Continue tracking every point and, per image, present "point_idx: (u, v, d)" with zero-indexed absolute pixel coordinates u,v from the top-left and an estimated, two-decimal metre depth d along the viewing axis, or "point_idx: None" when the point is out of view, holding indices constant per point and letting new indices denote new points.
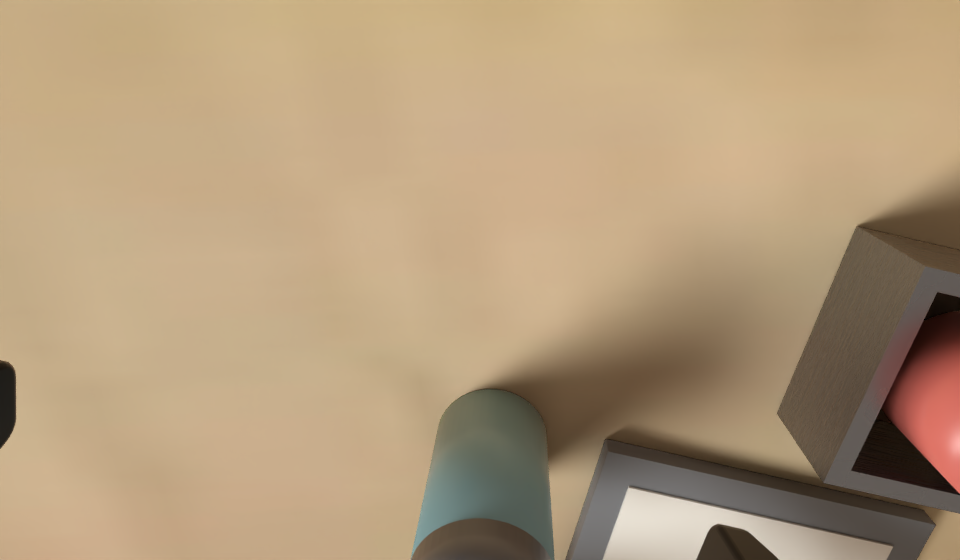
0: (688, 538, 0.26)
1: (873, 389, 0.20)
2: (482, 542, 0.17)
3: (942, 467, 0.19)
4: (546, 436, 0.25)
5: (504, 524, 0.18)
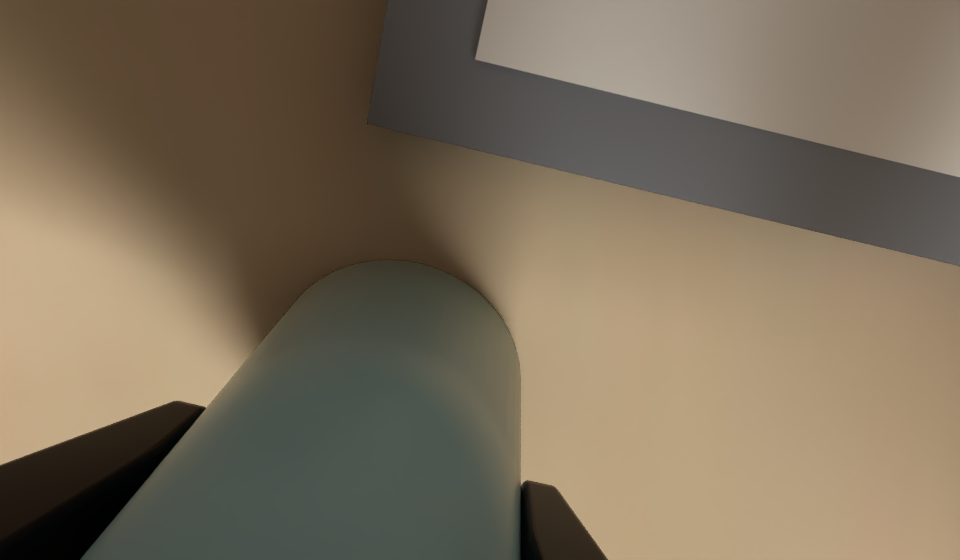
0: None
1: None
2: None
3: None
4: (371, 265, 0.10)
5: None
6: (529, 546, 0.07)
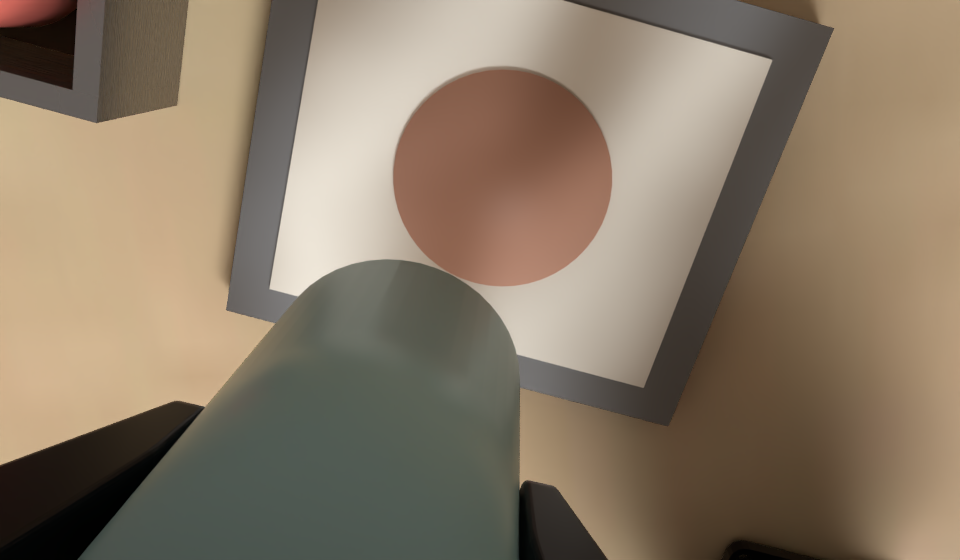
0: (340, 215, 0.20)
1: None
2: None
3: None
4: (370, 265, 0.10)
5: None
6: (529, 546, 0.07)
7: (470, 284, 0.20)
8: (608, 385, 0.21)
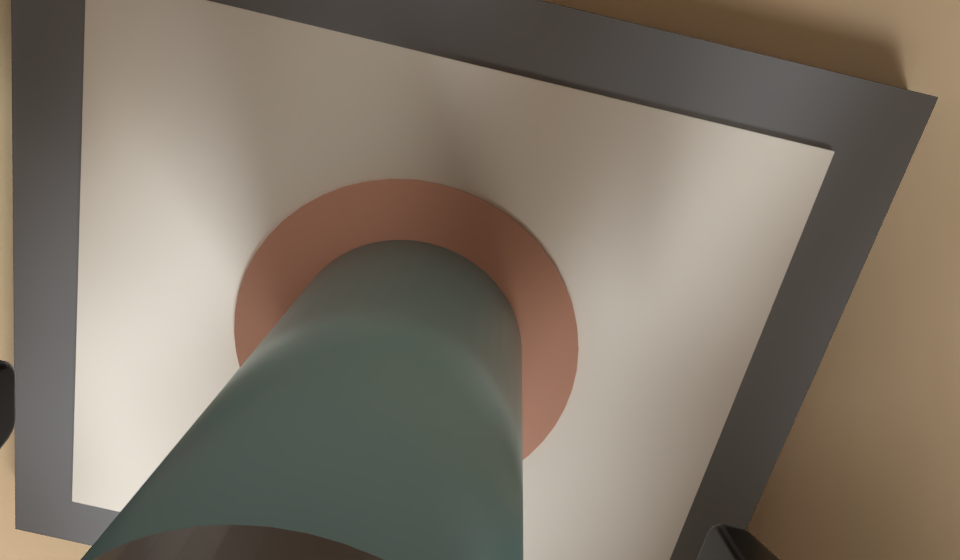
0: (164, 397, 0.13)
1: None
2: None
3: None
4: (384, 244, 0.11)
5: None
6: None
7: None
8: None
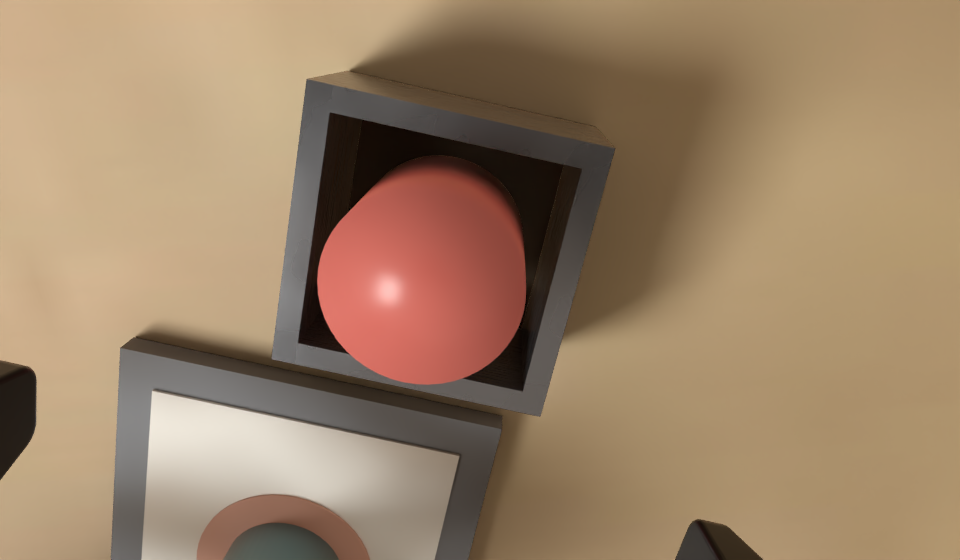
0: (235, 451, 0.22)
1: (293, 239, 0.17)
2: None
3: None
4: None
5: None
6: None
7: (194, 548, 0.24)
8: None
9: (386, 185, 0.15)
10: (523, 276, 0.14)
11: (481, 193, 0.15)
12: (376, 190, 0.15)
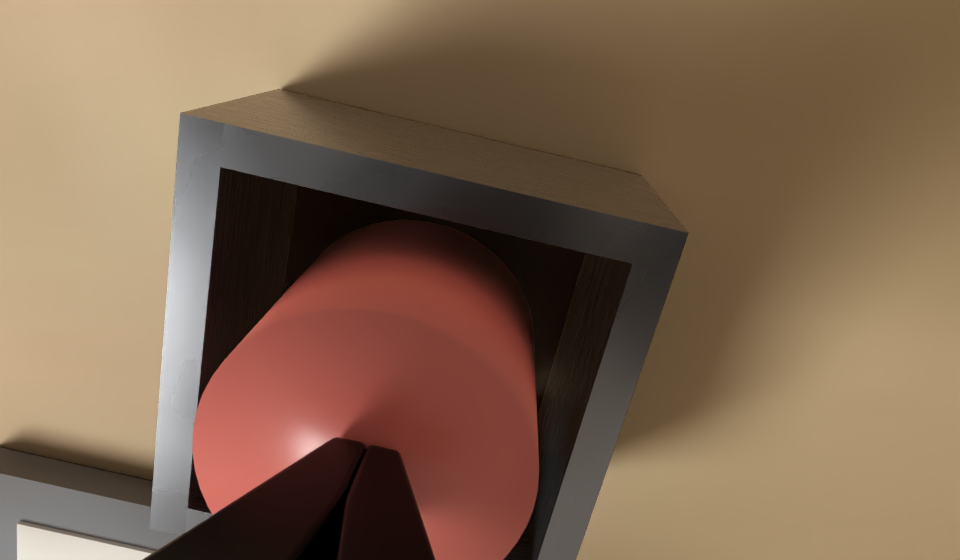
0: None
1: (172, 360, 0.11)
2: None
3: None
4: None
5: None
6: (343, 504, 0.07)
7: None
8: None
9: (309, 292, 0.09)
10: (534, 454, 0.09)
11: (467, 303, 0.09)
12: (293, 300, 0.09)
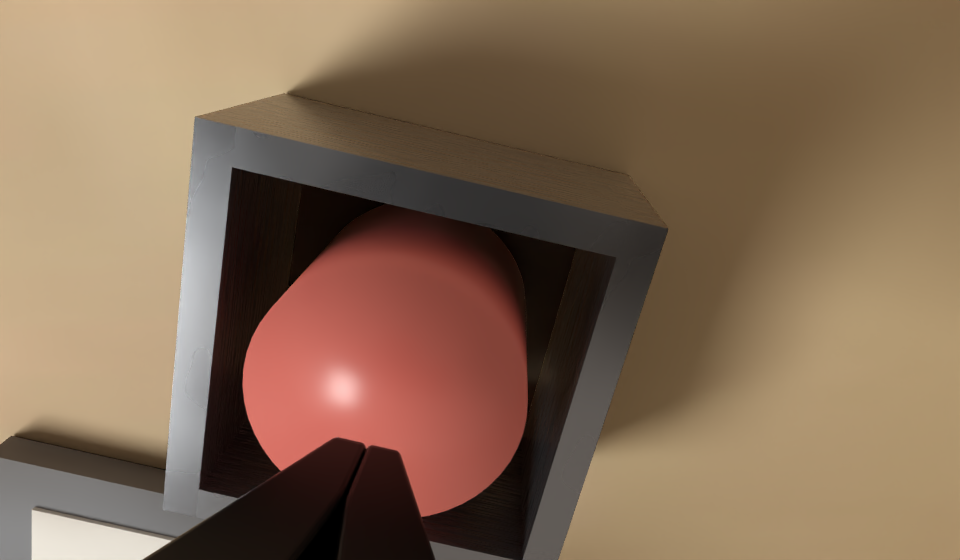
0: None
1: (186, 349, 0.11)
2: None
3: None
4: None
5: None
6: (343, 504, 0.07)
7: None
8: None
9: (339, 254, 0.11)
10: (524, 385, 0.10)
11: (469, 265, 0.11)
12: (325, 261, 0.11)
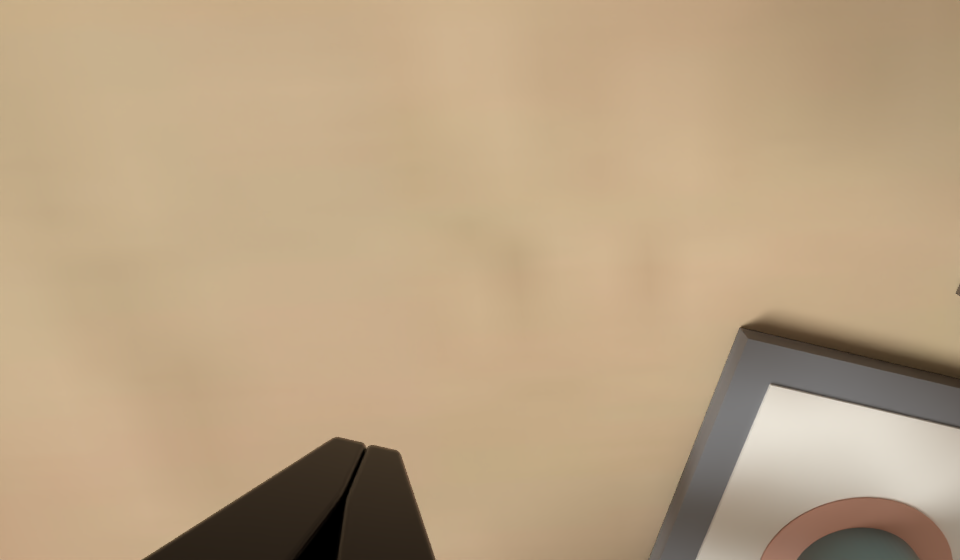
0: (838, 450, 0.21)
1: None
2: None
3: None
4: None
5: None
6: (343, 504, 0.07)
7: (759, 552, 0.22)
8: None
9: None
10: None
11: None
12: None
